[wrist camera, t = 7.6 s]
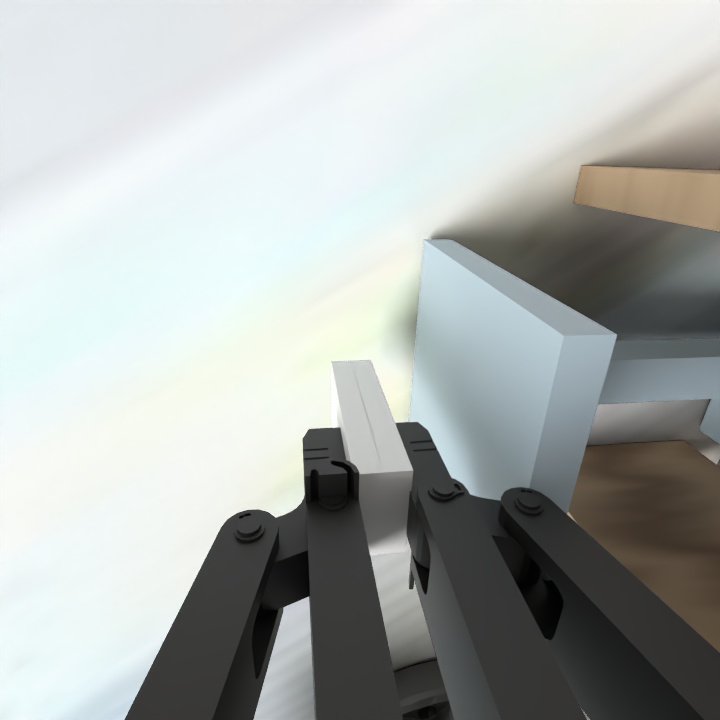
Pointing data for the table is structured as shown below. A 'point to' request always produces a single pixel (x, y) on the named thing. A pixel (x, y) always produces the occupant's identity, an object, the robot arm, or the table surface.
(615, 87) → the table surface
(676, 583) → the tunnel
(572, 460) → the plunger
